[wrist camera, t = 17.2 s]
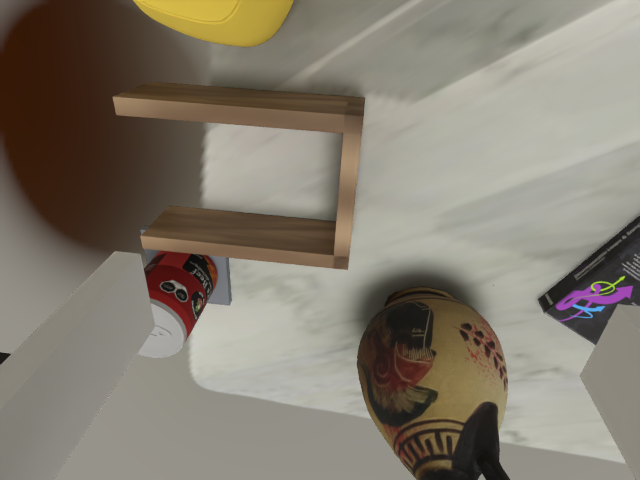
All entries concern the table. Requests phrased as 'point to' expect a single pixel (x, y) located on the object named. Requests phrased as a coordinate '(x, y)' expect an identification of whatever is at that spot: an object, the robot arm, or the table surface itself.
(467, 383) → the ceramic jug
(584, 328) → the box
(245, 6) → the teapot
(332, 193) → the table surface
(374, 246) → the table surface
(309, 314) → the table surface
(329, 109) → the shelf
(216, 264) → the coaster
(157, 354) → the canned food
